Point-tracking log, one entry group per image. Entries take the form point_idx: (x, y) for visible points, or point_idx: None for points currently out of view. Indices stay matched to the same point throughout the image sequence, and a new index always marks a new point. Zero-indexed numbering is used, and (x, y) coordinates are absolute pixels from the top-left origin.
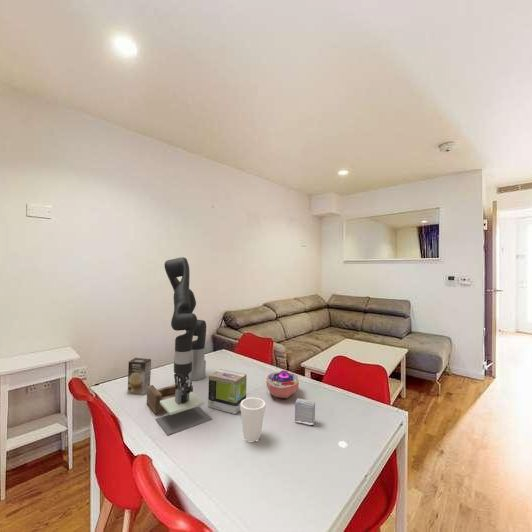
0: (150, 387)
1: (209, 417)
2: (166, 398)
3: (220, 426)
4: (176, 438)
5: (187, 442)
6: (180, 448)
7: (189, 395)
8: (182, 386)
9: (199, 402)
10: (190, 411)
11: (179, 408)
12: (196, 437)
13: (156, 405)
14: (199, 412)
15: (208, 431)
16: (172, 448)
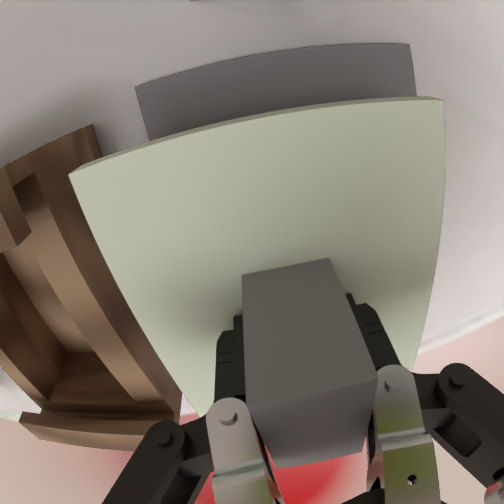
0: (50, 436)
1: (388, 53)
2: (141, 377)
3: (486, 50)
4: (445, 283)
5: (493, 247)
6: (497, 276)
7: (171, 227)
8: (372, 487)
9: (427, 159)
10: None
11: (405, 342)
12: (494, 203)
13: (180, 395)
14: (272, 93)
15: (493, 131)
16: (479, 300)
